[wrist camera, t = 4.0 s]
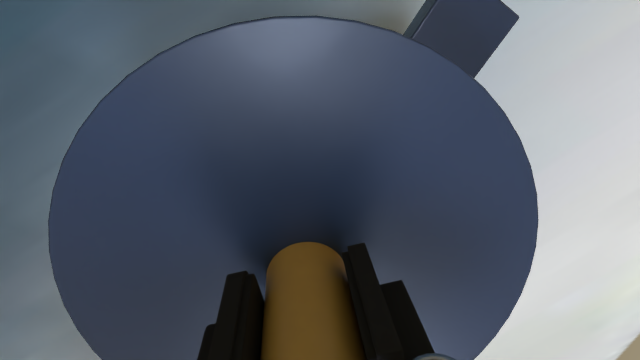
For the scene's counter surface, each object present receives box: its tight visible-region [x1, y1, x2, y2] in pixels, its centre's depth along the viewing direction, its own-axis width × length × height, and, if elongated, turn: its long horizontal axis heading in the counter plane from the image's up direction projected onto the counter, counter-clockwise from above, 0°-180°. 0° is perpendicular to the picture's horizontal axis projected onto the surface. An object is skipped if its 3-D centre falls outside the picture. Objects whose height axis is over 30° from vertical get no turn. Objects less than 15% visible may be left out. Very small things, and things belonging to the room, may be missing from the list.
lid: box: [48, 16, 538, 360], centre depth 10 cm, size 16×16×7 cm
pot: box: [403, 0, 519, 78], centre depth 18 cm, size 15×20×10 cm
